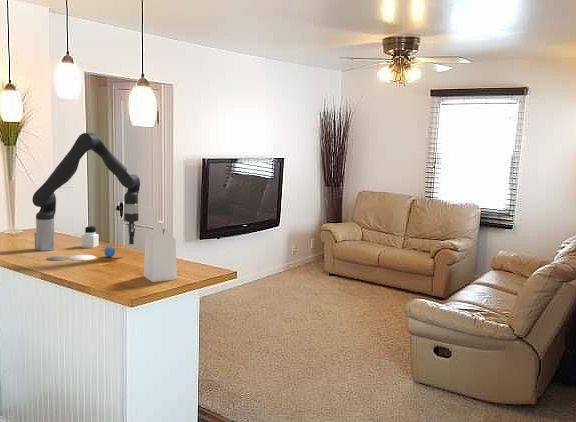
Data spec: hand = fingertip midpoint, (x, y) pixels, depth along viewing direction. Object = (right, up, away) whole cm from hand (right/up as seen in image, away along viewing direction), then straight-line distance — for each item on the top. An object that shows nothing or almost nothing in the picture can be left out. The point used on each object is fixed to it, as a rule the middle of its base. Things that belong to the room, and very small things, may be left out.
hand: (131, 244), depth 299 cm
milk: (+26, -13, -44) cm, 53 cm away
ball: (-11, -4, -3) cm, 12 cm away
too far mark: (-35, -7, -12) cm, 38 cm away
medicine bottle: (-31, -3, +23) cm, 39 cm away
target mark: (-24, -7, -8) cm, 26 cm away
